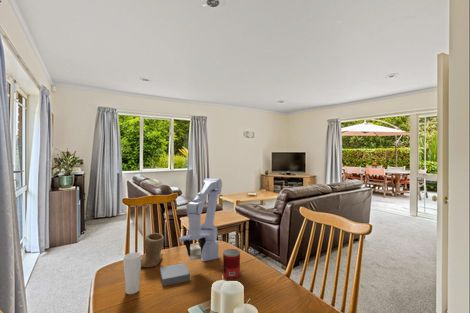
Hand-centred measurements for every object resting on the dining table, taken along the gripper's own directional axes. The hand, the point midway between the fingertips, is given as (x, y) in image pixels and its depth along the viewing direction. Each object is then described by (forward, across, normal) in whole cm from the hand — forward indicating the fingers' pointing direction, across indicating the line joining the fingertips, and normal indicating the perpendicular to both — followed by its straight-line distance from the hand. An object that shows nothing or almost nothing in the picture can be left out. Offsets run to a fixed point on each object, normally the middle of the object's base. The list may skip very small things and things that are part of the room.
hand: (194, 254), depth 117 cm
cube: (+2, 0, 0) cm, 2 cm away
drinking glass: (+8, -28, -7) cm, 30 cm away
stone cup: (+8, -18, +18) cm, 27 cm away
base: (+8, -10, -2) cm, 13 cm away
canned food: (+8, +15, -11) cm, 20 cm away
